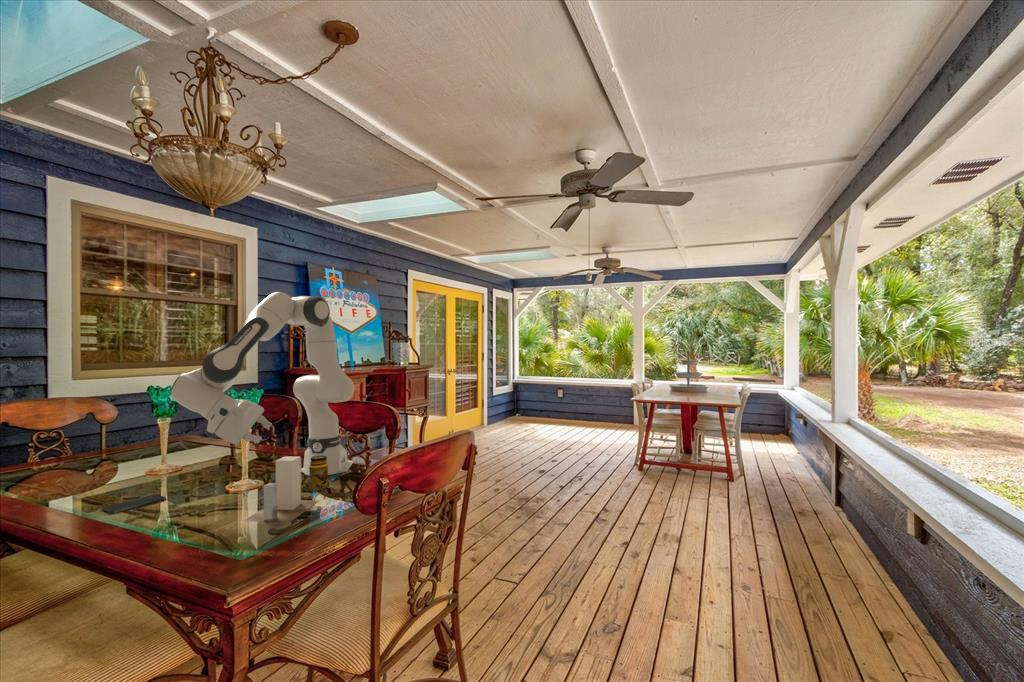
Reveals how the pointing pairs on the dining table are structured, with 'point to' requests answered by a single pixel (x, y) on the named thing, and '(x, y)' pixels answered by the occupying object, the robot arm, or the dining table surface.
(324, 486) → the condiment
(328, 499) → the dining table surface
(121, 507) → the phone
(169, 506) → the dining table surface
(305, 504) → the board
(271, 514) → the post
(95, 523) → the dining table surface
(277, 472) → the tall gray pillar
